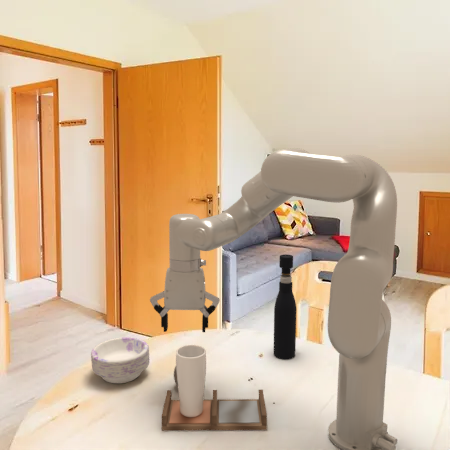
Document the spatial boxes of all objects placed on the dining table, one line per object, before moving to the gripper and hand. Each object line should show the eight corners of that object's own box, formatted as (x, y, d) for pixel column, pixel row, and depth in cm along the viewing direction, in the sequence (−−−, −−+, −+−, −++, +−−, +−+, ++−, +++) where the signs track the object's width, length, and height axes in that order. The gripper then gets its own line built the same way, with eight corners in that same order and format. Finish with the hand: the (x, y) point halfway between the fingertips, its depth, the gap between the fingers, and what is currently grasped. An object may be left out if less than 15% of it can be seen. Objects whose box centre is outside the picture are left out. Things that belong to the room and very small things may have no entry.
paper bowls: (80, 381, 129) (78, 353, 127) (118, 358, 142) (116, 332, 140) (125, 395, 122) (124, 365, 120) (161, 369, 135) (160, 342, 133)
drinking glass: (208, 404, 115) (208, 345, 112) (204, 421, 108) (204, 358, 105) (179, 402, 115) (178, 343, 112) (174, 419, 109) (173, 357, 106)
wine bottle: (270, 351, 146) (271, 254, 140) (289, 348, 148) (291, 252, 142) (278, 360, 140) (280, 259, 134) (299, 357, 142) (301, 257, 136)
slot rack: (262, 402, 118) (262, 389, 117) (266, 429, 107) (266, 415, 106) (167, 403, 118) (167, 390, 117) (161, 430, 107) (161, 416, 106)
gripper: (220, 260, 123) (219, 324, 127) (151, 260, 123) (152, 323, 126) (220, 269, 116) (219, 336, 119) (147, 268, 116) (148, 335, 119)
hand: (184, 330), depth 123 cm, fingers open, 9 cm apart
